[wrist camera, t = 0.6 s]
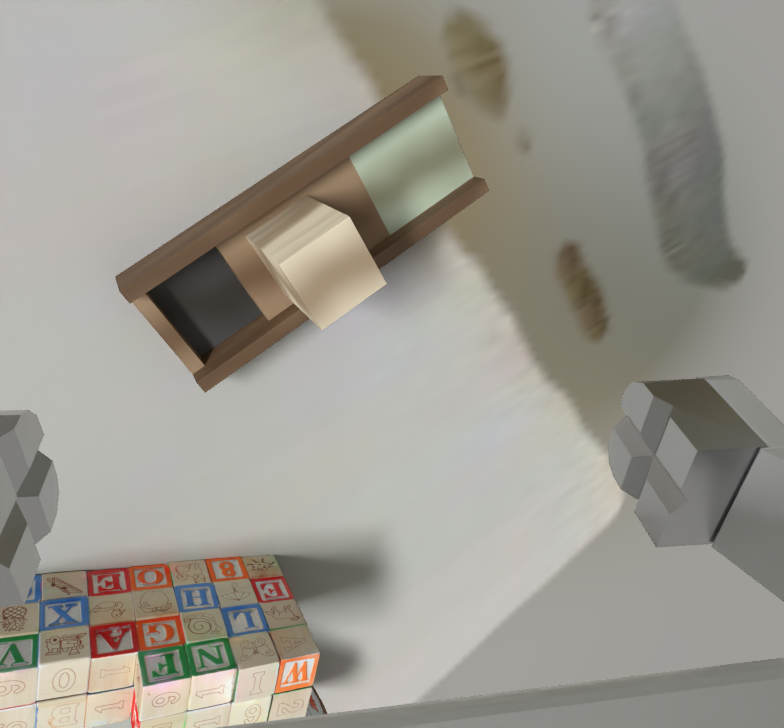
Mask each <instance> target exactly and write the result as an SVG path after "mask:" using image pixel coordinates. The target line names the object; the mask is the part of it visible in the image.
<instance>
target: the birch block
mask: <svg viewBox="0 0 784 728" xmlns="http://www.w3.org/2000/svg"><path fill="white" fill-rule="evenodd" d="M246 238H247V239H248V241H249V242H250V244H251V245H252V247H253V248H254V250H255V251H256V253H257V254H258V256H259V257H260V259H261V260H262V262H263V263H264V265H265V266H266V268H267V269H268V271H269V272H270V274H271V275H272V277H273V278H274V280H275V281H276V282H277V284H278V285H279V287H280V288H281V290H282V291H283V293H284V294H285V295H286V296H287V297H288V298H289V299H290V300H291V301H292V302H293V303H294V304H295V305H296V306H297V307H298V308H299V309H300V310H301V311H302V312H303V313H304V314H306V315H307V316H308V317H309V318H310V319H311V320H312V321H313V322H314V323H315V324H316V325H317V326H318V327H319V328H320V329H321V330H323V329H324V328H326V327H327V326H329V325H330V324H331V323H333V322H334V321H336V320H337V319H338V318H340V317H341V316H343V315H344V314H345V313H347V312H348V311H349V310H351V309H352V308H354V307H355V306H356V305H358V304H359V303H361V302H362V301H363V300H365V299H366V298H368V297H369V296H370V295H372V294H373V293H375V292H376V291H377V290H379V289H380V288H382V287H383V286H384V285H386V284H387V283H386V282H385V280H384V278H383V276H382V274H381V273H380V271H379V269H378V267H377V265H376V263H375V262H374V260H373V258H372V256H371V254H370V253H369V251H368V249H367V247H366V245H365V244H364V242H363V240H362V238H361V236H360V235H359V233H358V231H357V229H356V227H355V226H354V224H353V222H352V220H351V218H350V217H349V216H348V215H346V214H344V213H341V212H339V211H337V210H335V209H333V208H331V207H329V206H327V205H325V204H323V203H321V202H319V201H317V200H314V199H312V198H310V197H308V196H304V197H303V198H301V199H300V200H298V201H297V202H295V203H294V204H292V205H291V206H289V207H288V208H286V209H285V210H284V211H282V212H281V213H279V214H278V215H276V216H275V217H273V218H272V219H270V220H269V221H267V222H266V223H264V224H263V225H261V226H260V227H258V228H257V229H255V230H254V231H252V232H251V233H249V234H248V235H247V236H246Z"/></svg>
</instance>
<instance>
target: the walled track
mask: <svg viewBox="0 0 784 728" xmlns="http://www.w3.org/2000/svg"><path fill="white" fill-rule="evenodd" d="M447 90H448V88H447V86H446V83H445V81H444V79H443V76H418V77H416V78H414V79H413V80H411V81H410V82H409V83H407V84H405V85H404V86H402V87H401V88H399V89H398V90H396V91H395V92H393V93H392V94H390V95H389V96H387V97H386V98H384V99H383V100H381V101H380V102H378V103H377V104H375V105H374V106H372V107H371V108H369V109H368V110H366V111H365V112H363V113H362V114H360V115H359V116H357V117H356V118H354V119H353V120H351V121H350V122H348V123H347V124H345V125H344V126H342V127H341V128H339V129H338V130H336V131H335V132H333V133H331V134H330V135H328V136H327V137H325V138H324V139H322V140H321V141H319V142H318V143H316V144H315V145H313V146H312V147H310V148H309V149H307V150H306V151H304V152H303V153H301V154H300V155H298V156H297V157H295V158H294V159H292V160H291V161H289V162H288V163H286V164H285V165H283V166H282V167H280V168H279V169H277V170H276V171H274V172H273V173H271V174H270V175H268V176H267V177H265V178H264V179H262V180H261V181H259V182H258V183H256V184H255V185H253V186H252V187H250V188H249V189H247V190H246V191H244V192H243V193H241V194H240V195H238V196H236V197H235V198H233V199H232V200H230V201H229V202H227V203H226V204H224V205H223V206H221V207H220V208H218V209H217V210H215V211H214V212H212V213H211V214H209V215H208V216H206V217H205V218H203V219H202V220H200V221H199V222H197V223H196V224H194V225H193V226H191V227H190V228H188V229H187V230H185V231H184V232H182V233H181V234H179V235H178V236H176V237H175V238H173V239H172V240H170V241H169V242H167V243H166V244H164V245H163V246H161V247H160V248H158V249H157V250H155V251H154V252H152V253H151V254H149V255H148V256H146V257H145V258H143V259H141V260H140V261H138V262H137V263H135V264H134V265H132V266H131V267H129V268H128V269H126V270H125V271H123V272H122V273H120V274H119V275H117V276H116V281H117V284H118V288H119V291H120V293H121V294H122V295H123V296H124V297H125V298H126V300H127V301H128V302H129V303H133V304H134V305H135V306H136V307H137V308H138V310H139V311H140V312H141V313H142V314H143V316H144V317H145V318H146V319H147V320H148V322H149V323H150V324H151V325H152V326H153V327H154V329H155V330H156V331H157V332H158V333H159V335H160V336H161V337H162V338H163V339H164V341H165V342H166V343H167V344H168V345H169V346H170V348H171V349H172V350H173V351H174V352H175V354H176V355H177V356H178V357H179V358H180V360H181V361H182V362H183V363H184V364H185V365H186V367H187V368H188V369H189V370H190V371H191V373H192V374H193V376H194V378H195V380H196V382H197V384H198V385H199V386H200V387H201V388H202V389H203V391H204V392H207V391H208V390H210V389H211V388H212V387H214V386H215V385H217V384H218V383H219V382H221V381H222V380H224V379H225V378H226V377H228V376H229V375H231V374H232V373H234V372H235V371H236V370H238V369H239V368H241V367H242V366H243V365H245V364H246V363H248V362H249V361H250V360H252V359H253V358H255V357H256V356H257V355H259V354H260V353H262V352H263V351H264V350H266V349H267V348H269V347H270V346H271V345H273V344H274V343H276V342H277V341H279V340H280V339H281V338H283V337H284V336H286V335H287V334H288V333H290V332H291V331H293V330H294V329H295V328H297V327H298V326H300V325H301V324H302V323H304V322H305V321H307V320H308V319H309V317H308V316H307V315H306V314H304V313H303V312H302V311H301V310H300V309H299V308H298V307H297V306H296V305H295V304H294V303H293V302H292V301H291V300H290V299H289V298H288V297H287V296H286V295H285V294H284V293H283V291H282V290H281V288H280V287H279V285H278V284H277V282H276V281H275V280H274V278H273V277H272V275H271V274H270V272H269V271H268V269H267V268H266V266H265V265H264V263H263V262H262V260H261V259H260V257H259V256H258V254H257V253H256V251H255V250H254V248H253V247H252V245H251V244H250V242H249V241H248V239H247V238H246V236H247V235H248V234H249V233H251V232H252V231H254V230H255V229H257V228H258V227H260V226H261V225H263V224H264V223H266V222H267V221H269V220H270V219H272V218H273V217H275V216H276V215H278V214H279V213H281V212H282V211H284V210H285V209H286V208H288V207H289V206H291V205H292V204H294V203H295V202H297V201H298V200H300V199H301V198H303V197H304V196H308V197H310V198H312V199H314V200H317V201H319V202H321V203H323V204H325V205H327V206H329V207H331V208H333V209H335V210H337V211H339V212H341V213H344V214H346V215H348V216H349V217H350V218H351V220H352V222H353V224H354V226H355V227H356V229H357V231H358V233H359V235H360V236H361V238H362V240H363V242H364V244H365V245H366V247H367V249H368V251H369V253H370V254H371V256H372V258H373V260H374V262H375V263H376V265H377V267H378V269H380V268H381V267H383V266H384V265H385V264H387V263H388V262H390V261H391V260H392V259H394V258H395V257H397V256H398V255H399V254H401V253H402V252H404V251H405V250H406V249H408V248H409V247H411V246H412V245H414V244H415V243H416V242H418V241H419V240H421V239H422V238H423V237H425V236H426V235H428V234H429V233H430V232H432V231H433V230H435V229H436V228H437V227H439V226H440V225H442V224H443V223H444V222H446V221H447V220H449V219H450V218H451V217H453V216H454V215H456V214H457V213H458V212H460V211H461V210H463V209H464V208H465V207H467V206H468V205H470V204H471V203H473V202H474V201H475V200H477V199H478V198H480V197H481V196H482V195H484V194H485V193H487V192H488V191H489V189H488V187H487V185H486V182H485V180H484V179H481V178H477V177H474V176H473V174H472V171H471V169H470V167H469V164H468V162H467V159H466V157H465V155H464V152H463V150H462V148H461V145H460V143H459V140H458V138H457V135H456V133H455V130H454V128H453V126H452V123H451V121H450V118H449V116H448V114H447V111H446V109H445V106H444V104H443V102H442V99H441V97H440V95H441V94H443V93H444V92H445V91H447Z"/></svg>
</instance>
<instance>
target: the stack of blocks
mask: <svg viewBox="0 0 784 728" xmlns="http://www.w3.org/2000/svg"><path fill="white" fill-rule="evenodd" d="M319 656H320V652H319V650H318V648H317V646H316V644H315V642H314V640H313V638H312V635H311V633H310V631H309V629H308V627H307V623H306V621H305V619H304V617H303V614H302V613H301V611H300V608H299V606H298V604H297V602H296V601H295V599H294V597H293V595H292V593H291V591H290V588H289V586H288V584H287V582H286V580H285V579H284V577H283V573H282V571H281V569H280V566H279V565H278V562H277V560H276V558H275V556H274V555H263V556H250V557H228V558H216V559H206V560H190V561H178V562H169V563H167V564H158V565H147V566H136V567H129V568H120V569H106V570H96V571H89V572H86V571H74V572H63V573H51V574H43V575H35V576H34V579H33V582H32V585H31V587H30V590H29V593H28V596H27V598H26V601H25V604H23V605H14V606H6V607H0V728H92V727H96V726H101V725H106V724H110V723H114V722H119V721H123V720H126V719H128V718H130V717H131V724H132V728H216V727H224V726H233V725H241V724H249V723H257V722H265V721H273V720H282V719H290V718H298V717H305V716H306V711H307V707H308V703H309V699H310V695H311V692H312V684H313V682H314V679H315V674H316V670H317V665H318V661H319Z"/></svg>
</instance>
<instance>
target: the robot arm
mask: <svg viewBox="0 0 784 728" xmlns="http://www.w3.org/2000/svg"><path fill="white" fill-rule="evenodd" d="M621 406H622V408H623V410H624V412H625V414H626V416H625V417H624V418H623V419H622V420H621V421H620V422H619V423H618V424H616V425H615V427H613V429H612V433H611V437H610V440H609V444H608V453H609V465H610V468H611V471H612V474H613V477H614V478H615V480H616V482H617V484H618V485H619V487H620V489H621V490H623V491H625V492H626V493H628V494H629V495H631V496H633V497H634V498H636V499H637V503H636V507H635V511H634V512H635V514H636V515H637V517H638V518H639V520H640V521H641V523H642V525H643V527H644V528H645V530H646V531H647V533H648V535H649V536H650V538H651V540H652V541H653V543H654V544H655V546H656V547H669V546H686V545H702V544H712V547H713V548H714V549H715V550H716V551H718V552H719V553H720V554H722V555H723V556H724V557H726V558H727V559H728V560H730V561H731V562H732V563H733V564H735V565H736V566H737V567H739V568H740V569H741V570H743V571H744V572H745V573H747V574H748V575H749V576H751V577H752V578H753V579H754V580H756V581H757V582H758V583H760V584H761V585H762V586H764V587H765V588H766V589H768V590H769V591H770V592H772V593H773V594H774V595H776V596H777V597H778V598H779V599H781V600H782V601H783V602H784V424H783V423H782V422H781V421H780V420H779V419H778V418H777V417H776V416H775V415H774V414H773V413H772V412H771V411H770V410H769V409H768V408H767V407H766V406H765V405H764V404H763V403H762V402H761V401H760V400H759V399H758V398H757V397H756V396H755V395H754V394H753V393H752V392H751V391H750V390H748V388H747V387H746V386H744V384H743V383H742V382H741V381H740V380H738V379H736V378H734V377H731V376H729V375H724V376H710V377H697V378H695V379H681V380H661V381H644V382H643V381H642V382H632V383H631V384H630V385H629V386H628V388H627V389H626V390H625V392H624V396H623V398H622V402H621ZM43 436H44V433H43V431H42V428H41V425H40V423H39V420H38V417H37V415H36V414H34V413H33V412H31V411H29V410H11V411H0V607H6V606H14V605H23V604H25V601H26V598H27V596H28V593H29V590H30V587H31V585H32V582H33V579H34V576H35V574H36V571H37V568H38V566H39V563H40V560H41V559H40V556H39V554H38V551H37V548H36V546H35V544H36V543H37V542H39V541H40V540H41V539H42V538H43V537H45V536H46V535H47V534H48V533H50V532H51V529H52V526H53V523H54V520H55V517H56V514H57V506H58V496H59V488H58V480H57V474H56V470H55V467H54V464H53V461H52V460H51V459H49V458H48V457H47V456H45V455H44V454H42V453H41V452H40V451H38V448H39V446H40V443H41V441H42V439H43ZM216 728H784V658H777V659H768V660H760V661H752V662H744V663H736V664H728V665H720V666H712V667H705V668H696V669H688V670H680V671H672V672H664V673H656V674H648V675H639V676H631V677H623V678H615V679H607V680H599V681H591V682H583V683H575V684H567V685H559V686H551V687H542V688H534V689H526V690H518V691H511V692H502V693H495V694H486V695H478V696H470V697H462V698H454V699H445V700H437V701H429V702H421V703H413V704H404V705H396V706H388V707H380V708H372V709H363V710H355V711H347V712H339V713H331V714H323V715H314V716H306V717H298V718H290V719H282V720H273V721H265V722H257V723H249V724H241V725H233V726H224V727H216Z"/></svg>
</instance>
